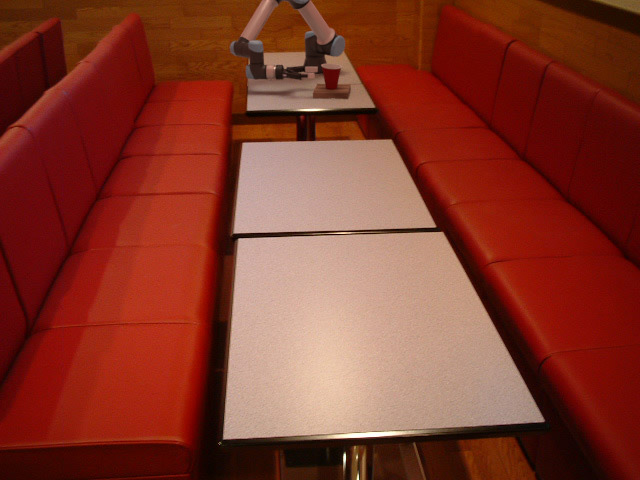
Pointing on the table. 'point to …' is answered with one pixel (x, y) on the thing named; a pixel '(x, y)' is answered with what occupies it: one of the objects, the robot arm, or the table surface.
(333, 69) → the plastic cup
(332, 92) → the walnut stand
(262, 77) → the robot arm
